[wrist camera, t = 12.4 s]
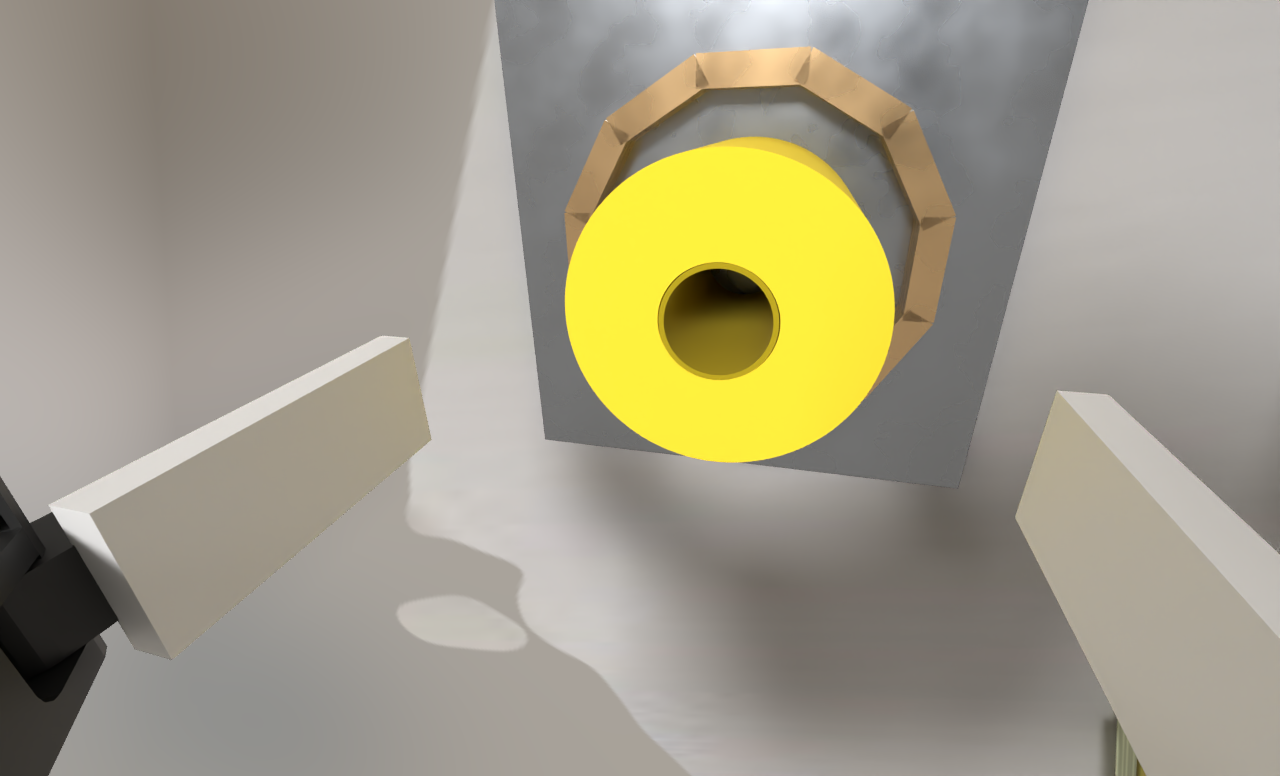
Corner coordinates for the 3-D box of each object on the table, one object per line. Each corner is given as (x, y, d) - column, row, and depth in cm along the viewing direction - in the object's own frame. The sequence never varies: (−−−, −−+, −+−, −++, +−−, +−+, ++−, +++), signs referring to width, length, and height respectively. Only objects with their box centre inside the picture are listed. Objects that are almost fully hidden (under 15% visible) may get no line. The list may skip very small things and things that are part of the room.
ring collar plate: (1094, -66, 19) (1132, -90, 17) (953, 477, 28) (965, 507, 26) (504, -10, 24) (474, -22, 22) (552, 430, 34) (534, 452, 31)
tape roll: (668, 109, 24) (595, 105, 15) (904, 172, 22) (963, 203, 14) (620, 323, 28) (545, 407, 20) (812, 385, 27) (816, 501, 19)
